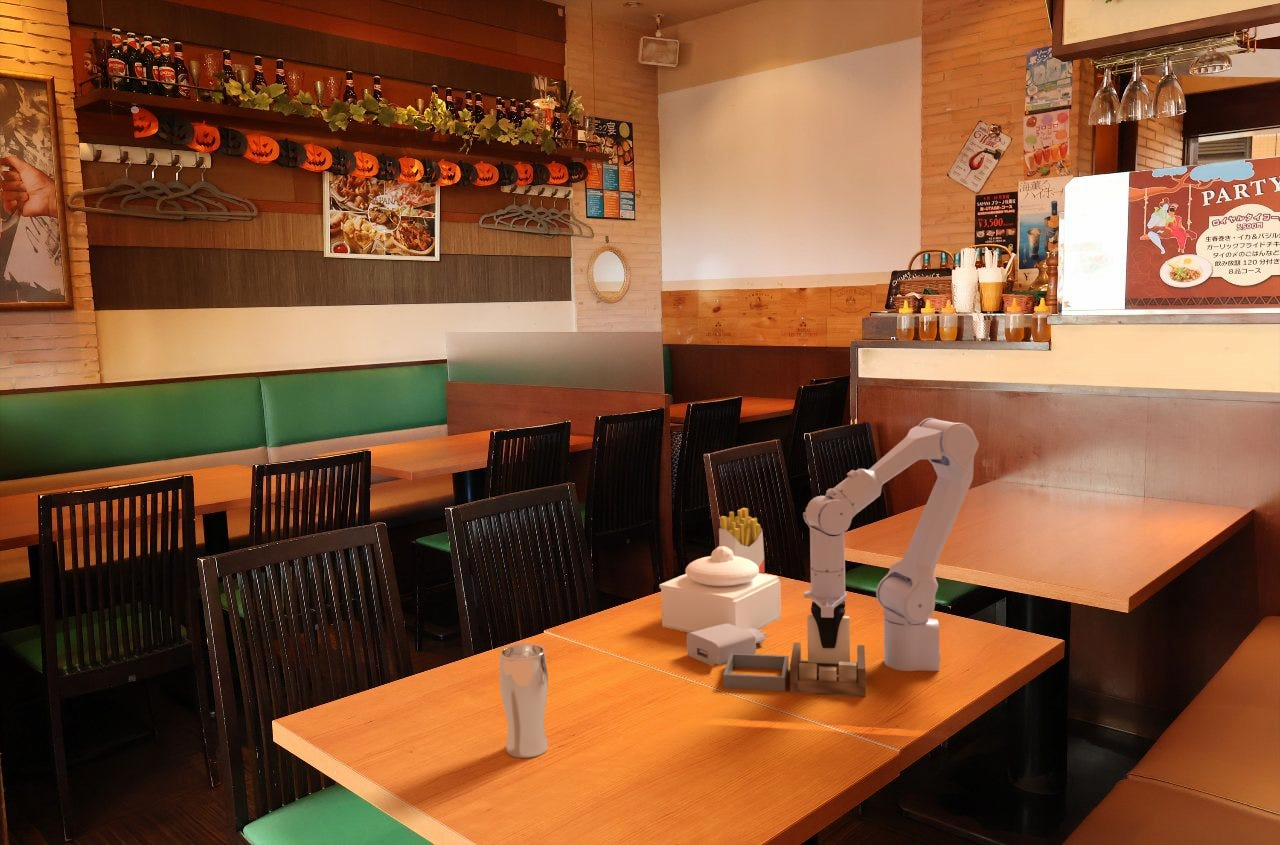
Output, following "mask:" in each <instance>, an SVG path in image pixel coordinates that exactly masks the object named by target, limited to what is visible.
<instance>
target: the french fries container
mask: <svg viewBox="0 0 1280 845" xmlns="http://www.w3.org/2000/svg"><path fill="white" fill-rule="evenodd" d="M728 515H729V516H728V517H727V516H726V515H725V516H724V515H722V516H720V517H719V522H720V524H719V525H720V527H719V528H718V537H719V538H718V539H719V542H718V543H719V544H718V547H720V546H725V547H727V548H729V549H730V550H732V552H733V554H734V556H738V557H742V558H745V559H748V560H750V561H752V562H754V563H755V564H756V565H757V566H758V568H759V573H760V574H766V573H765V550H764V549H765V548H764V535H763V534H764V533H763V528H762V527H761V524H759V523H758V518H757V517H752V516H749V508H748V507H747V508H746V507H742V508H740V509H738V510H737V515H736V516H735V512H734V511H729V514H728Z"/></svg>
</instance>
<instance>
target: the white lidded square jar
mask: <svg viewBox="0 0 1280 845" xmlns="http://www.w3.org/2000/svg"><path fill="white" fill-rule="evenodd" d="M781 584H782V583H781V579H779V576H778V575H771V574H766V573H765V574H760V573H759V568H758V566H757V565H756V564H755V563H754V562H752V561H750V560H748V559H745V558H742V557H738V556H734V554H733V552H732V550H730V549H729V548H727V547H725V546H720V547H719V546H717V547H716V548H715V549H714V550H712V552H711V554H710V556H704V557H701V558H697V559H695V560H693V561H691V562H690V563H689V564H688V565H687V566H686V568H685V574H682V575H679V576H677V577H674V578H672V579H670V580H667V581H665V582H662V583H660V584H659V589H661V590H660V591H661V593H660V594H661V621H662V622H661V625H662V628H665V627H666V629H671V630H675V629H676V631H679V630H680V632H684V631H685V632H684V633H691V632H695V631H698V630H702V629H706V628H709V627H713V626H716V625H720V624H724V623H728V624H731V625H734V626H736V627H739V628H742V629H744V630H745V629H749V628H753V629H756V630H762V629H764V628H765V627H767V626H769V625H770V624H772V623H775V622H777V621H778V620H780V619H781V618H782V603H781V602H782V600H781V599H782V598H781V597H782V596H781V595H782V593H781V591H782V590H781V589H782V588H781V587H782V586H781ZM774 621H775V622H774ZM763 627H764V628H763Z"/></svg>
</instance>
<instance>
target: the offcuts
mask: <svg viewBox="0 0 1280 845" xmlns="http://www.w3.org/2000/svg"><path fill="white" fill-rule="evenodd" d="M856 662H857V661H850V662H839V682H857V666H856ZM799 680H817V663H799ZM819 681H837V667H819Z"/></svg>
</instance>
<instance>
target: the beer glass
mask: <svg viewBox="0 0 1280 845" xmlns="http://www.w3.org/2000/svg"><path fill="white" fill-rule="evenodd" d="M548 675H549V674H548V664H547V657H546V648H545V647H544V646H542V645H541V644H537V643H531V642H529V643H517V644H516V643H515V644H510V645H508V646H506V647H503V648H502V649H501V650H500V652H499V686H500V694H501V699H502V704H503V708H504V712H505V716H506V722H507V730H508V731H507V739H506V740H507V741H506V749H505V750H506V753H507V754H508V755H509V756H511V757H513V758H517V759H530V758H531V759H532V758H534V757H539V756H541V755H542V754H544V753H545V752H546V751H547V750H548V747H549V745H548V738H547V734H546V730H545V715H546V714H545V712H546V706H547V698H548V690H549V688H548V687H549V683H548V682H549V681H548V680H549V679H548V678H549V677H548Z"/></svg>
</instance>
